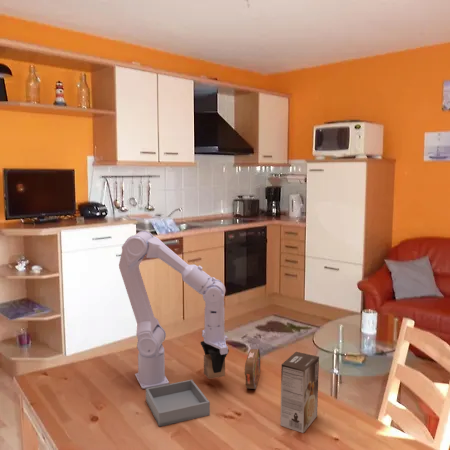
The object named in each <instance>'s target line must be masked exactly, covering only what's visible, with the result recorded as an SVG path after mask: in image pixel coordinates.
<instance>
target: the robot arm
mask: <svg viewBox="0 0 450 450" xmlns="http://www.w3.org/2000/svg"><path fill="white" fill-rule="evenodd" d="M145 256H146V259H159V260H160V261H162V262H163V263H165V264H167V265H168V266H169V267H170V268H172V269H174V271H176V272H178V273H179V274H181V279H182V281H183V282H184V283H185V284H187V285H188V286H189V287H190V288H192V289H193V290H194V291H196V292H197V293H198V294H199V295H202V298H203V301H204V304H205V305H204V329H203V330H201V337H203V340H202V341H200V345H201V347H202V349H203V352H204V355H208V354H210V356H211V359H212V367H213V372H214V373H218V372H221V370H222V366H223V362H224V360H225V361H226V357H227V355H229V352H230V350H229V346H228V345H227V343H226V341H227V340H229V336H227V335H226V334H225V324H226V323H225V321H226V320H225V315H226V312H225V311H226V308H225V295H226V286H225V284H224V282H222V280H220V279H217V278H216V277H214V276H211V275H209V274H208V273H207V272H206V271H204V270H203V269H204V268H203V266H201V265H200V264H199V265H196V264H188V263H187V262H186V261H185V260H184V259H182V258H181V257H180V256H179V255H178V254H177V253H176V252H174V251H173V250H172V249H171V248H169V246H167V245H166V244H165V243H164V242H163V241H162V240H161V239H160V238H159V237H157V236H154V235H153V234H152V233H151V232H149V231H148V230H140V231H139V232H137V233H136V234H134V235H130V236H129V237H128V238H127V239H126V240H125V241H124V243H123V244H122V246H121V255H120V257H119V263H118V268H119V272H120V275H121V278H122V280H123V284H124V287H125V290H126V293H127V297H128V300H129V303H130V307H131V309H132V313H133V315H134V318H135V321H136V325H137V326H136V336H137V337H136V338H137V342H136V343H137V344H136V347H137V351H138V353H137V367H138V368H137V369H138V370H137V373H134V375H135V378H136V379H137V382H138V384H139V385H140V388H141V389H145V390H146V389H147V388H152V387H157V386H162V385H167V384H170V381H169V380H168V378H167V376H166V374H165V373H166V372H165V370H166V368H165V364H166V363H165V348H164V345H163V343H164V341H165V340H166V337H167V336H166V335H167V334H166V331H165V329H164V328H163V327H162V326H161V324H160V321H159V319H158V318H156V317H155V315H154V311H153V309H152V305H151V302H150V299H149V295H148V293H147V289H146V286H145V283H144V279H143V276H142V274H141V273H142V272H141V270H140V265H141V263H142V261H143V259H144V258H145Z"/></svg>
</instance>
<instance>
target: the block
mask: <svg viewBox="0 0 450 450" xmlns="http://www.w3.org/2000/svg"><path fill="white" fill-rule="evenodd" d="M203 374H204V375H205V376H206V378H207V379H209V380H211V379H216V378H221V377H225V376H226V359H225V360H224V362H223V366H222V370H221V372H218V373H214V372H213V367H212V359H211V356H210V354H208V355H205V354H204V355H203Z"/></svg>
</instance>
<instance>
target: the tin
mask: <svg viewBox="0 0 450 450" xmlns="http://www.w3.org/2000/svg"><path fill="white" fill-rule="evenodd" d="M260 374H261V351H260V349H259V348H250V349H249V351H248V354H247V357H246V359H245V365H244V375H245V387H246V389H248V390H249V389H251V390H252V389H253V390H256V389H257V386H258V383H259V380H260V379H259V378H260V376H261V375H260Z"/></svg>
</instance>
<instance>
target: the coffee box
mask: <svg viewBox="0 0 450 450" xmlns="http://www.w3.org/2000/svg"><path fill="white" fill-rule="evenodd" d="M319 360H320V356H317V355H313V354H309V353H305V352H300V351H295V352H294V353H293V354H291V356H289V357H288V358H287V359H285V361H284V362H283V363H281V370H280V371H281V374H280V375H281V379H280V380H281V382H280V426H281V427H284V428H287V429H289V430H291V431H292V430H293V431H296V432H299V433H301V434H304V433H305V432H306V431H307V429H308V428H309V427H310V426H311V425H312V424H313V422H314V421H315V419H317V417H318V407H319V405H318V403H319V401H318V398H319V368H320V367H319V362H320V361H319Z"/></svg>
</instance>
